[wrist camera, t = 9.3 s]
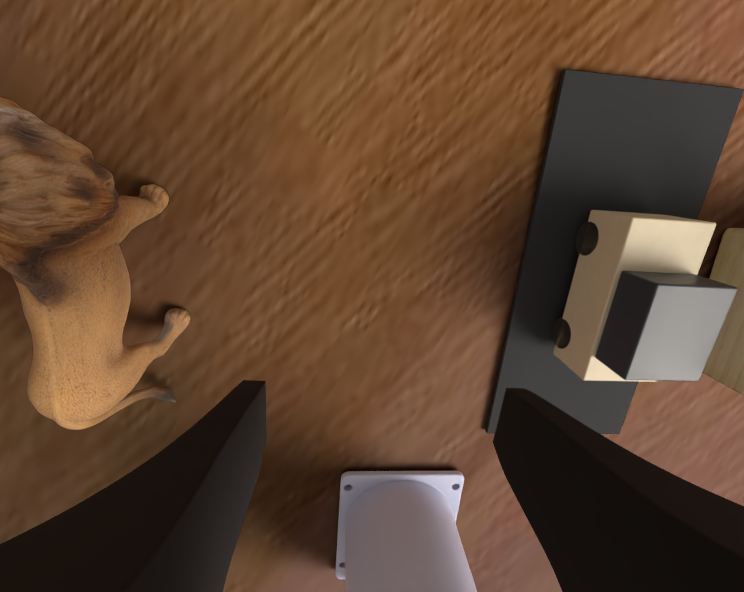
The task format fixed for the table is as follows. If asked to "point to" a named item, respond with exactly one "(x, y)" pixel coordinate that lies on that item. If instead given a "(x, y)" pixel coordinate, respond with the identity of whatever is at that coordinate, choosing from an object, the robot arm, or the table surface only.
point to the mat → (608, 193)
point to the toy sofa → (730, 314)
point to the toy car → (641, 300)
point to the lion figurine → (74, 271)
